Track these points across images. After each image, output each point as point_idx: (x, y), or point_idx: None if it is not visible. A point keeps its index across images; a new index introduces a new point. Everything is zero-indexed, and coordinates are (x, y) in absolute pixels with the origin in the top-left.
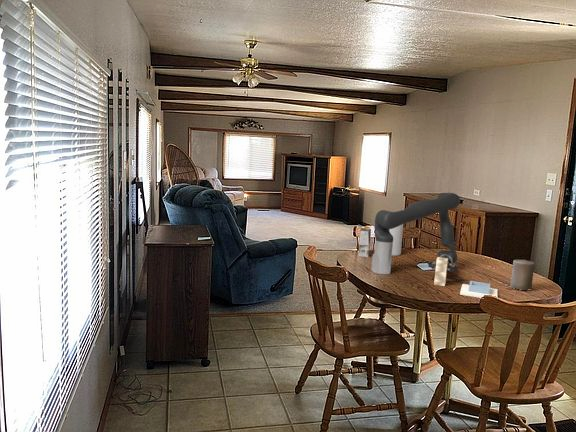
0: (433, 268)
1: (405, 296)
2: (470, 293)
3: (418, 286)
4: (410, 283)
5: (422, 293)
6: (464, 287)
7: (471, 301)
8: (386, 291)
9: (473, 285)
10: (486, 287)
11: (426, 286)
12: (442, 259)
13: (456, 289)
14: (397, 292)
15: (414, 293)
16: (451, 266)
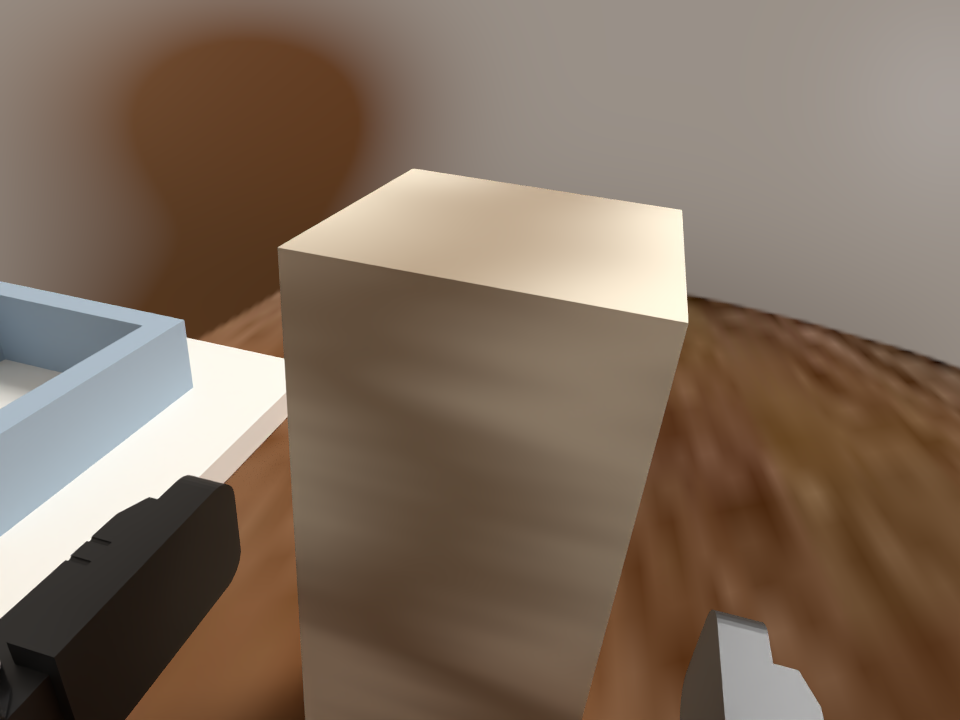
0: (689, 669)
1: (776, 322)
2: (220, 347)
3: (772, 531)
4: (933, 635)
5: (675, 372)
6: (136, 491)
7: None
8: (954, 373)
9: (131, 316)
10: (6, 289)
11: (675, 553)
12: (523, 197)
13: (260, 519)
14: (868, 367)
15: (738, 365)
16: (63, 610)
